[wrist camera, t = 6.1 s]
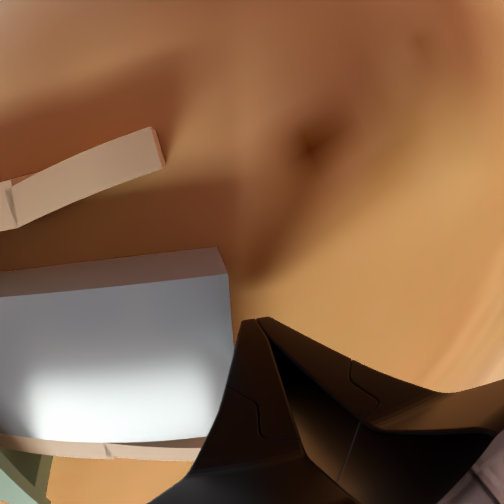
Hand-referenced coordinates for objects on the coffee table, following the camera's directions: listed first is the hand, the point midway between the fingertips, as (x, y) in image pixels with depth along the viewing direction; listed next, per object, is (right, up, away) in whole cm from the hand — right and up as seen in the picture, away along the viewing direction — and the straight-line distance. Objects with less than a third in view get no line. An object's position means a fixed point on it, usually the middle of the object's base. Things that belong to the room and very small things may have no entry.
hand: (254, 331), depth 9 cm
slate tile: (-7, -1, 0) cm, 7 cm away
